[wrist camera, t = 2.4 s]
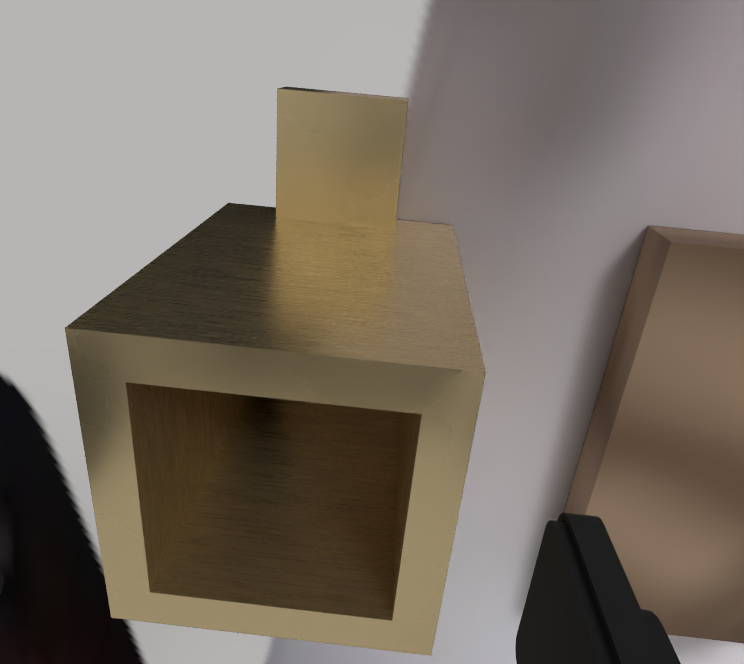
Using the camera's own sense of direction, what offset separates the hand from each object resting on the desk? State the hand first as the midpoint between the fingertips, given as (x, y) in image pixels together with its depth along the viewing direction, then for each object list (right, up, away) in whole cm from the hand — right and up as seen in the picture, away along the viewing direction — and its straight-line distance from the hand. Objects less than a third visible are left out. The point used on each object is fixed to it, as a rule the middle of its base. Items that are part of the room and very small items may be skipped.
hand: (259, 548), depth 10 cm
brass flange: (+1, +4, +7) cm, 8 cm away
